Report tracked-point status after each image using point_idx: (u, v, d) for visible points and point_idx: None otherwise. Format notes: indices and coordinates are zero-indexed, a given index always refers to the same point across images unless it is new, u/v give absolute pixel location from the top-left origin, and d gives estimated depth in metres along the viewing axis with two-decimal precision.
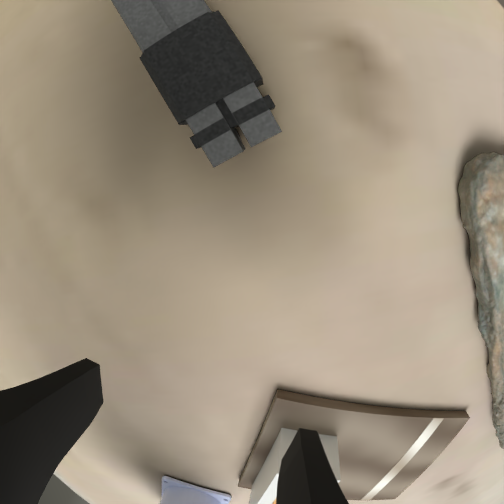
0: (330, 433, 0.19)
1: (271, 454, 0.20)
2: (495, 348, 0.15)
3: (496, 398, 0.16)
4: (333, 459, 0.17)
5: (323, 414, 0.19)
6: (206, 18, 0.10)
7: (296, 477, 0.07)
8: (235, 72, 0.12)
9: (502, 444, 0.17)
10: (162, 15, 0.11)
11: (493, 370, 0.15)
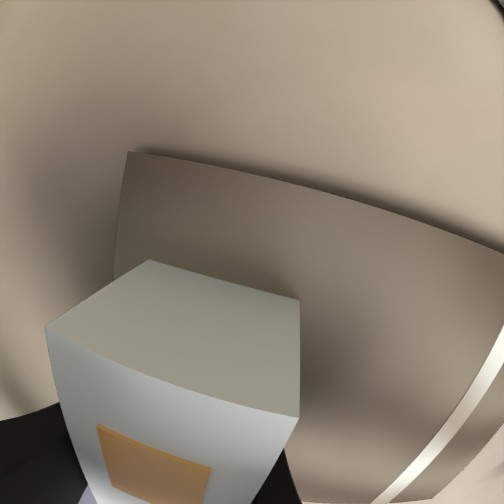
0: (278, 286, 0.08)
1: None
2: None
3: None
4: (280, 342, 0.06)
5: (246, 202, 0.08)
6: None
7: None
8: None
9: None
10: None
11: None
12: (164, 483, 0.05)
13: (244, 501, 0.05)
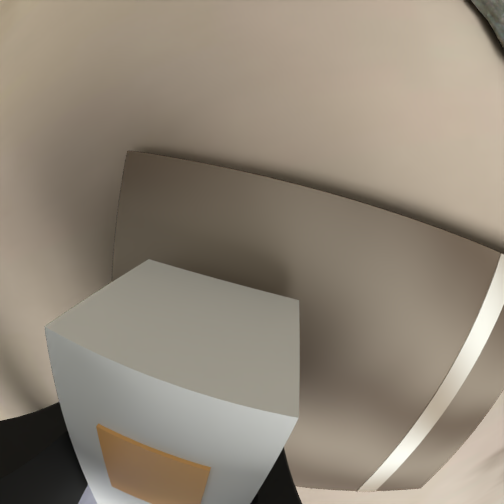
0: (259, 269, 0.09)
1: None
2: None
3: None
4: (280, 342, 0.06)
5: (230, 194, 0.09)
6: None
7: None
8: None
9: None
10: None
11: None
12: (164, 483, 0.05)
13: (244, 501, 0.05)
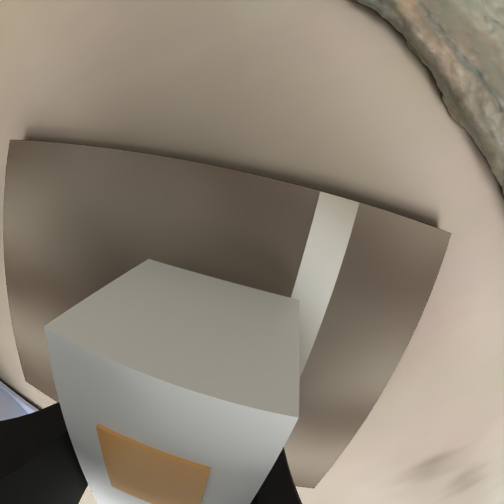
0: (73, 218, 0.10)
1: None
2: (400, 3, 0.06)
3: None
4: (279, 342, 0.06)
5: (55, 162, 0.09)
6: None
7: None
8: None
9: None
10: None
11: (443, 67, 0.06)
12: (164, 483, 0.05)
13: (244, 501, 0.05)
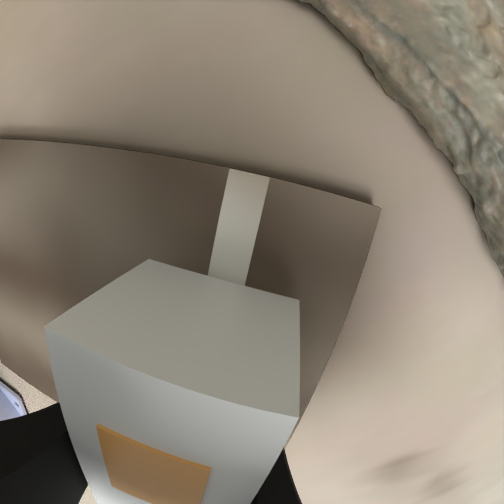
0: (31, 206, 0.10)
1: None
2: None
3: (450, 143, 0.07)
4: (280, 342, 0.06)
5: (18, 156, 0.09)
6: None
7: None
8: None
9: None
10: None
11: (362, 40, 0.06)
12: (164, 483, 0.05)
13: (244, 501, 0.05)
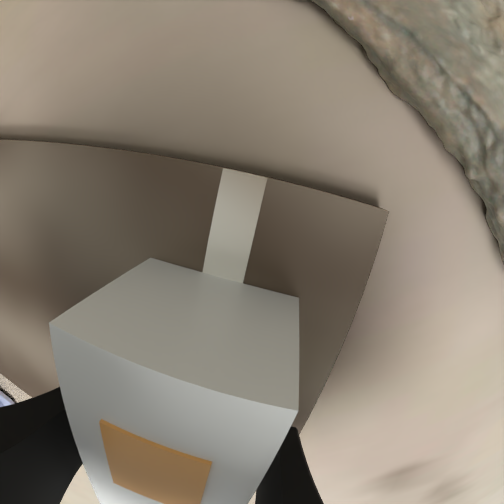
0: (18, 209, 0.09)
1: None
2: None
3: (463, 146, 0.06)
4: (279, 339, 0.06)
5: (6, 157, 0.09)
6: None
7: (272, 473, 0.07)
8: None
9: None
10: None
11: (366, 34, 0.06)
12: (165, 478, 0.05)
13: (244, 496, 0.05)
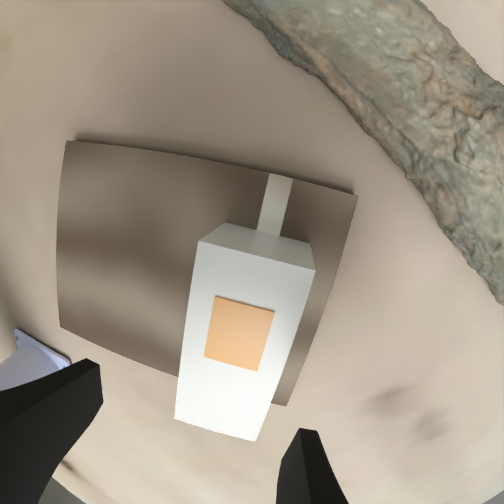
0: (119, 193, 0.16)
1: None
2: (318, 64, 0.12)
3: (402, 161, 0.13)
4: (303, 253, 0.13)
5: (106, 156, 0.16)
6: None
7: (296, 477, 0.07)
8: None
9: (495, 289, 0.13)
10: None
11: (348, 102, 0.13)
12: (245, 334, 0.12)
13: (288, 342, 0.12)
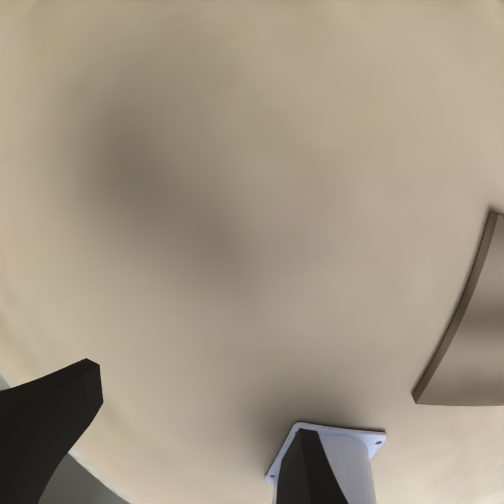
0: None
1: None
2: None
3: None
4: None
5: None
6: None
7: (296, 477, 0.07)
8: None
9: None
10: None
11: None
12: None
13: None
